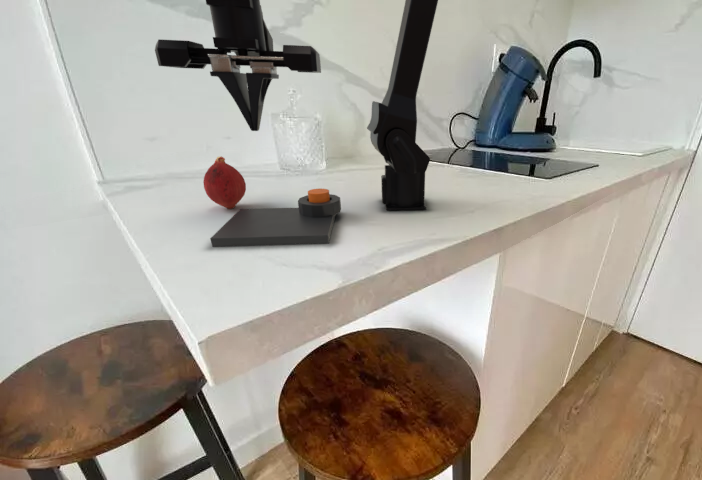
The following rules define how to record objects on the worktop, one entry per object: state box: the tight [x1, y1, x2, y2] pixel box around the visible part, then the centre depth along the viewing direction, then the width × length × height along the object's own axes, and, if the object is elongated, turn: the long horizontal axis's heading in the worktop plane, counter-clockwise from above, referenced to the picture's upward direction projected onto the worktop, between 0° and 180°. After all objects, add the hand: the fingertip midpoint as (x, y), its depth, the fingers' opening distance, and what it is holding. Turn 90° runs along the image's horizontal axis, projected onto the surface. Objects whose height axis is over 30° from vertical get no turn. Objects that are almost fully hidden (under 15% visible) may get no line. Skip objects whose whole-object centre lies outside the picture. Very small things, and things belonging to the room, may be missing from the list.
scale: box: [209, 193, 342, 248], centre depth 50 cm, size 15×13×3 cm
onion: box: [202, 156, 247, 210], centre depth 56 cm, size 6×6×8 cm
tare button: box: [307, 188, 330, 203], centre depth 53 cm, size 3×3×2 cm
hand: (255, 130), depth 51 cm, fingers closed
